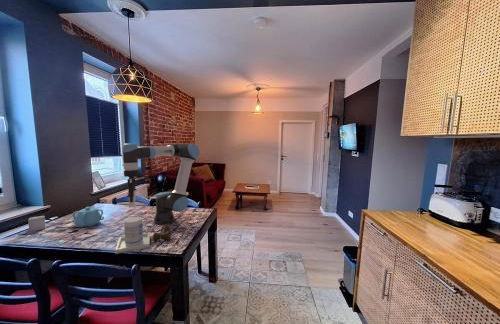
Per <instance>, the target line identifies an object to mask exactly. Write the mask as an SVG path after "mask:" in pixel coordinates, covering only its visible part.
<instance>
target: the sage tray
mask: <svg viewBox="0 0 500 324" xmlns="http://www.w3.org/2000/svg"><path fill="white" fill-rule="evenodd" d="M150 234H151V233H150V232H143V241H142V242H141V243H140V244H137V245H134V246H127V245H126V244H125V235H123V236H120V237H119V238H118V240H117V244H116V247H115V251H114V252H115V253H114V254H115V255H119V254H124V253H129V252H134V251H138V250H139V251H141V250H145V249H150V244H151V243H150V242H151V240H150V237H151V235H150Z"/></svg>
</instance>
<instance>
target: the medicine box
mask: <svg viewBox="0 0 500 324" xmlns="http://www.w3.org/2000/svg"><path fill="white" fill-rule="evenodd" d="M27 223H28V224H27V225H28V232H34V231H35V232H36V231H40V230H45V229H46V218H45V215H40V216H33V217H29V218H28V222H27Z"/></svg>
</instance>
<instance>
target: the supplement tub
mask: <svg viewBox="0 0 500 324" xmlns="http://www.w3.org/2000/svg"><path fill="white" fill-rule="evenodd" d="M123 224H124V236H125V244H126V245H127V246H134V245H137V244H140V243H141V242H142V241H143V233H144V231H143V229H144V228H143V218H142V217H140V216H135V217H134V216H132V217H130V218H125V220H124V223H123Z"/></svg>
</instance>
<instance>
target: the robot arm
mask: <svg viewBox="0 0 500 324" xmlns="http://www.w3.org/2000/svg"><path fill="white" fill-rule="evenodd" d="M200 153H201V150H200V148H199V146H198V144H195V143H175V144H169V145H158V146H157V145H154V146H153V145H148V146H147V145H145V146H144V145H143V146H140V145H139V146H138V144H137V143H124V144H122V161H123V162H122V164H121V165H122V166H123V176H124V177H126V178H127V188H128V189H127V191H128V192H127V195H126V197H127V198H128V208H135V202H137V201H136V200H137V199H136V191H137V188H136V178H135V177H138V176H139V160H142V159H143V160H145V159H146V160H147V159H149V160H150V159H154V158H155V157H166V156H167V157H177V158H179V159H180V165H179V168H178V172H177V177H176V181H175V185H174V189H173V191H163V192H158V193H157V194H155V210H156V211H155V216H154V219H153V222H154V224H156V225H168V224H171V223H173V222H174V221H175V220H176V219H175V214H174V213H173V212H176V213H177V212H179V213H181V212H184V211H185V210H186V209H187V207H188V205H189V198H188V197H187V195H188V194H187V193H186V191H187V187H188V183H189V179H190V175H191V174H190V173H191V170H192V165H193V163H194V162H195V161H196V159H198V158H199V157H200Z"/></svg>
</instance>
